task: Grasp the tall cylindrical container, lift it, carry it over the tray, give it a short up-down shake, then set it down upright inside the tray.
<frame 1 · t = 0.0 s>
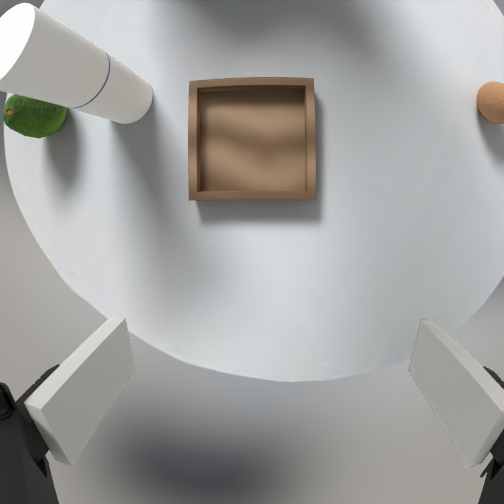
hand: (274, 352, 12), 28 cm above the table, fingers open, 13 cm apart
tray: (252, 139, 37), on the table
egg: (482, 106, 33), on the table
cylindrical container: (130, 100, 36), on the table
avocado: (60, 116, 37), on the table
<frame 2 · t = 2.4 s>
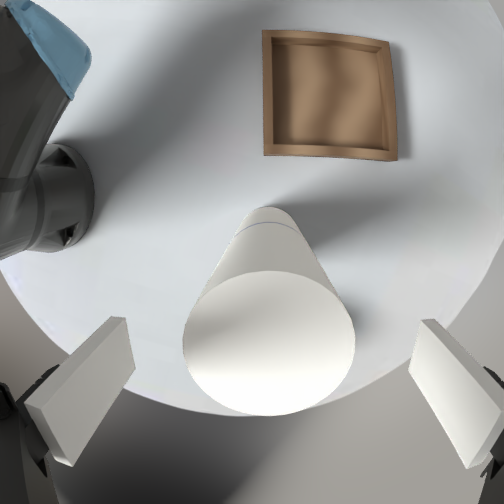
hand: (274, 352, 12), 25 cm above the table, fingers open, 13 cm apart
tray: (327, 96, 32), on the table
cylindrical container: (268, 236, 36), on the table
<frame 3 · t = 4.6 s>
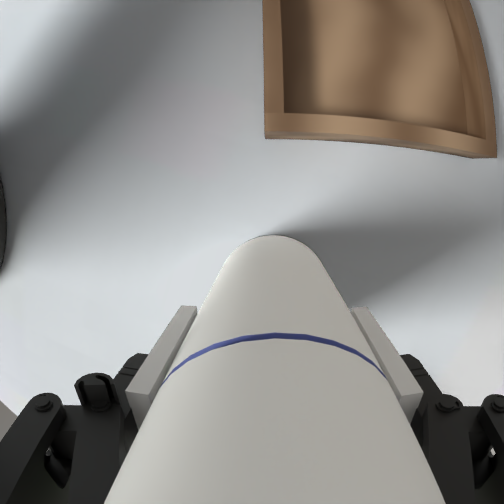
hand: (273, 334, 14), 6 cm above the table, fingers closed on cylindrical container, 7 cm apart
tray: (375, 41, 16), on the table
cylindrical container: (272, 288, 20), on the table, touching gripper
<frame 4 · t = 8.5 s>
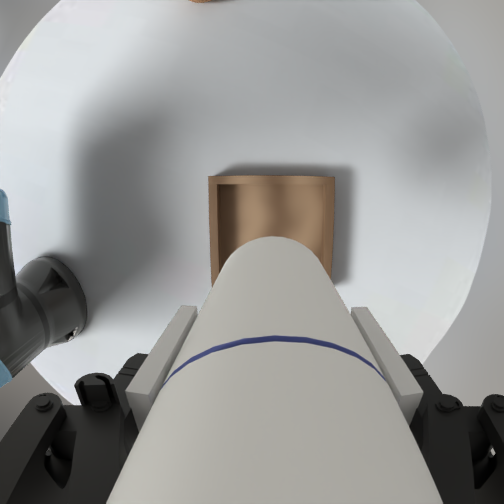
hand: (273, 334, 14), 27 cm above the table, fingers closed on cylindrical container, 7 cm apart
tray: (271, 233, 40), on the table
cylindrical container: (272, 289, 20), point 20 cm above the table, touching gripper
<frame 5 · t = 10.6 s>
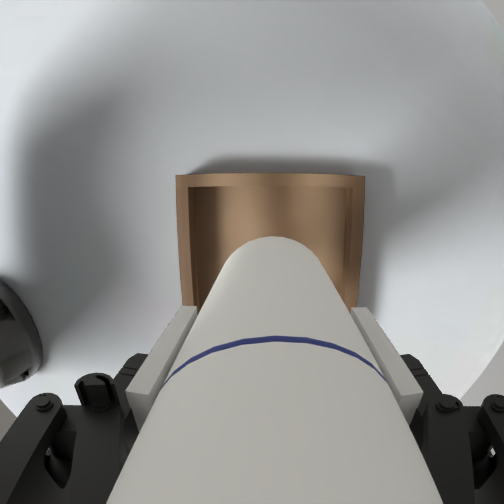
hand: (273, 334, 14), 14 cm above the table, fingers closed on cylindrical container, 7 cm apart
tray: (270, 258, 28), on the table
cylindrical container: (272, 289, 20), point 8 cm above the table, touching gripper
when the fingers open (8 cm above the table, at t = 12.3 s): cylindrical container drops 1 cm, resting on tray.
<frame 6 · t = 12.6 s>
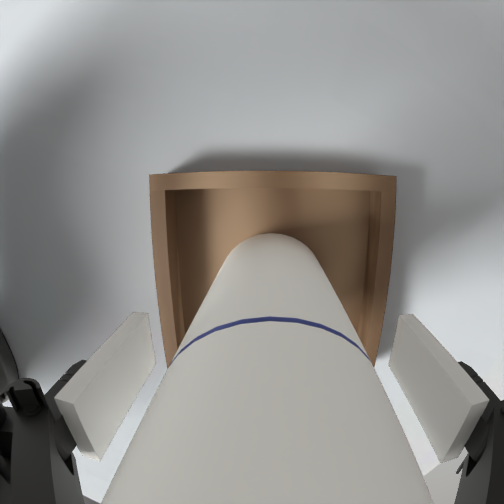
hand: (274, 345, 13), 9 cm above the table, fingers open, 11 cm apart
tray: (272, 279, 22), on the table
cylindrical container: (271, 283, 21), point 1 cm above the table, touching tray
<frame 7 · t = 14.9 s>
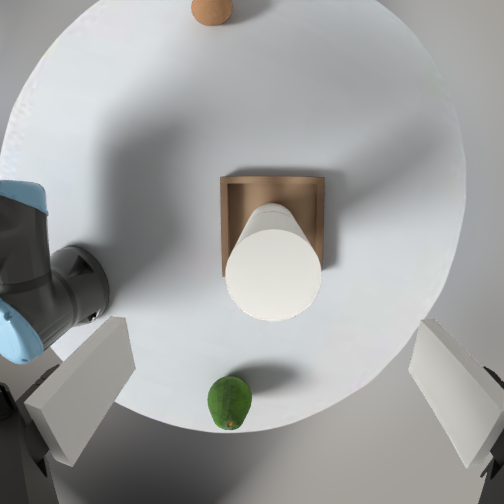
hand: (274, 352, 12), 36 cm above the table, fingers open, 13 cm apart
tray: (272, 225, 48), on the table
egg: (216, 18, 40), on the table
cylindrical container: (271, 226, 47), point 1 cm above the table, touching tray
avocado: (232, 382, 55), on the table
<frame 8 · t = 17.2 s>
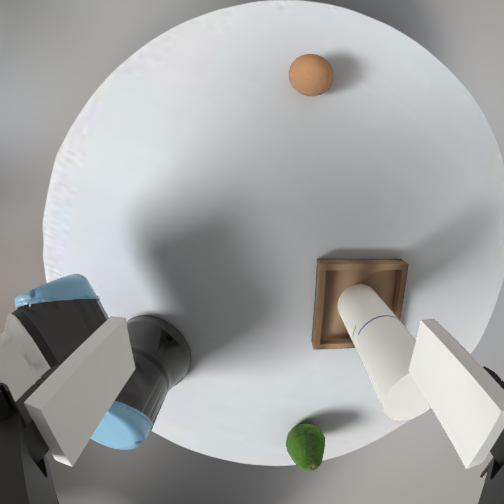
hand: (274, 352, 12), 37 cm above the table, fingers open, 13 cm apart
tray: (357, 301, 50), on the table
egg: (307, 83, 43), on the table
cylindrical container: (357, 303, 50), point 1 cm above the table, touching tray
avocado: (303, 426, 58), on the table
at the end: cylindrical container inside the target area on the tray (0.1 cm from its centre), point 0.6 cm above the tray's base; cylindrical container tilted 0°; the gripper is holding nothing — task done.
